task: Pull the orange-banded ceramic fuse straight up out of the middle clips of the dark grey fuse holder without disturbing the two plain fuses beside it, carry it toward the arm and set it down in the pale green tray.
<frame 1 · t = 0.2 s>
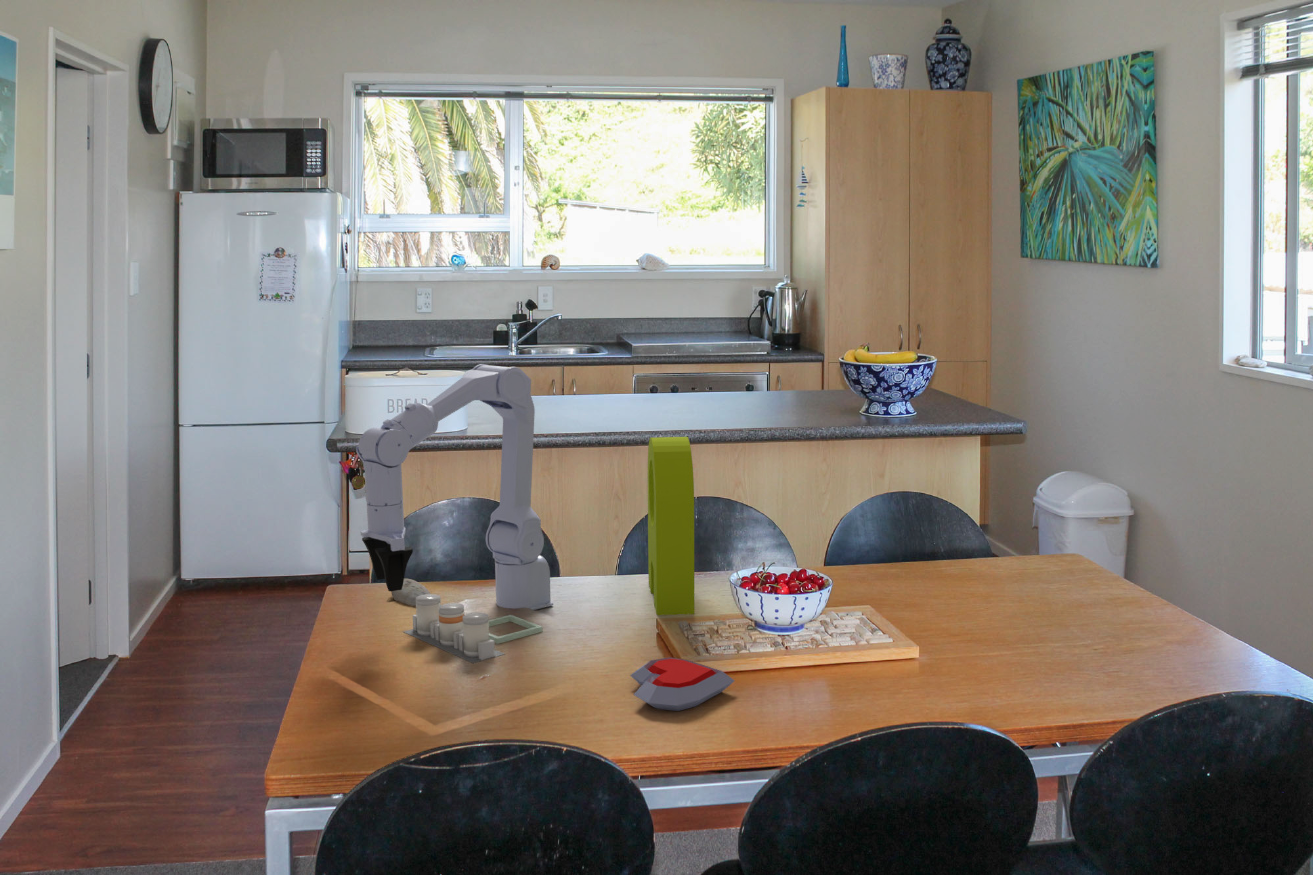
hand: (388, 584, 191), 10 cm above the table, tool pointing down, fingers open, 7 cm apart
fuse 2: (476, 652, 184), point 1 cm above the table, touching fuse holder
sculpture: (683, 696, 169), on the table
fuse 1: (429, 632, 195), point 1 cm above the table, touching fuse holder
fuse holder: (452, 648, 190), on the table
decorative stone: (412, 604, 215), on the table
tray: (504, 636, 195), on the table
decorative object: (670, 599, 216), on the table
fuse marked: (452, 642, 190), point 1 cm above the table, touching fuse holder
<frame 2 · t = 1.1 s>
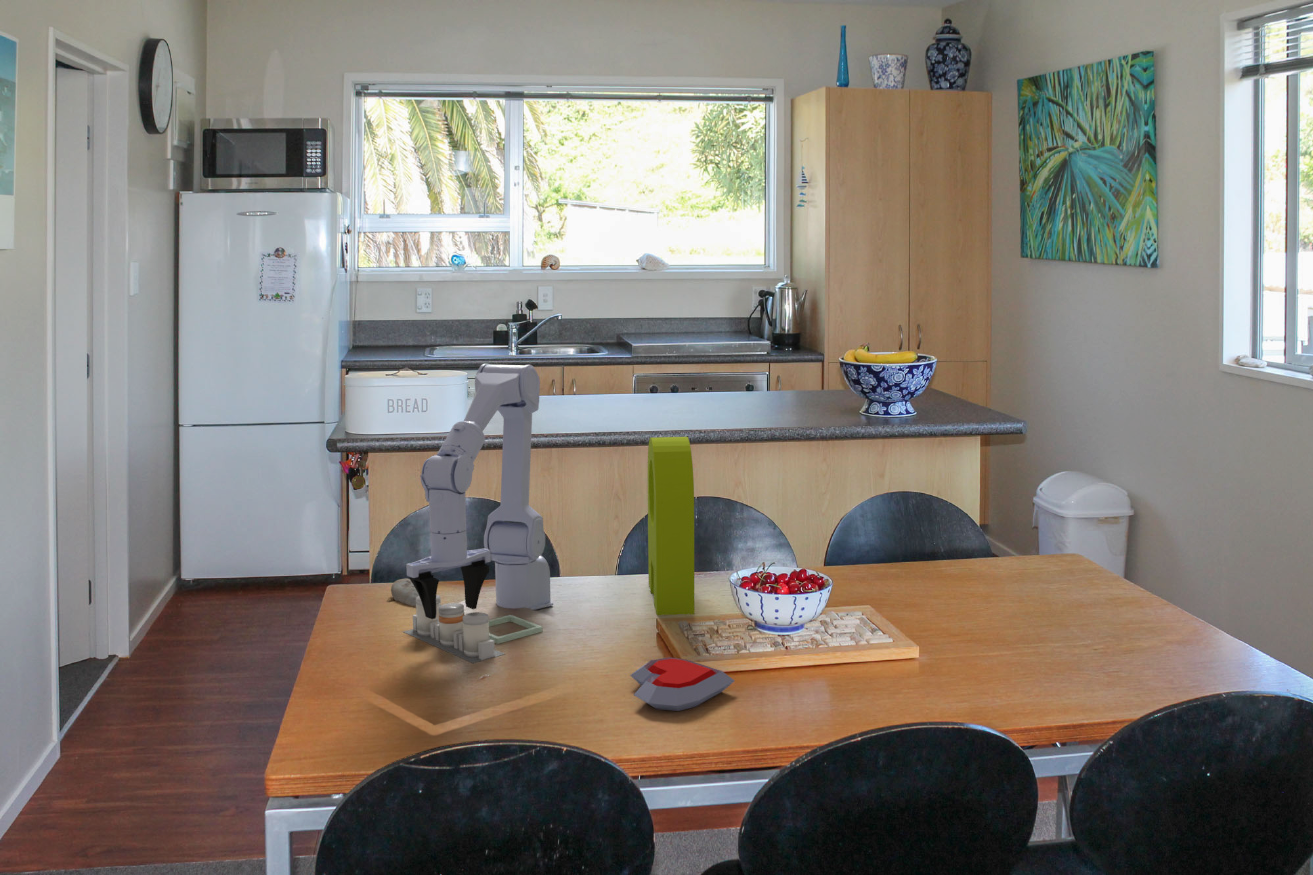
hand: (451, 612, 189), 6 cm above the table, tool pointing down, fingers open, 7 cm apart
nothing on the table moved.
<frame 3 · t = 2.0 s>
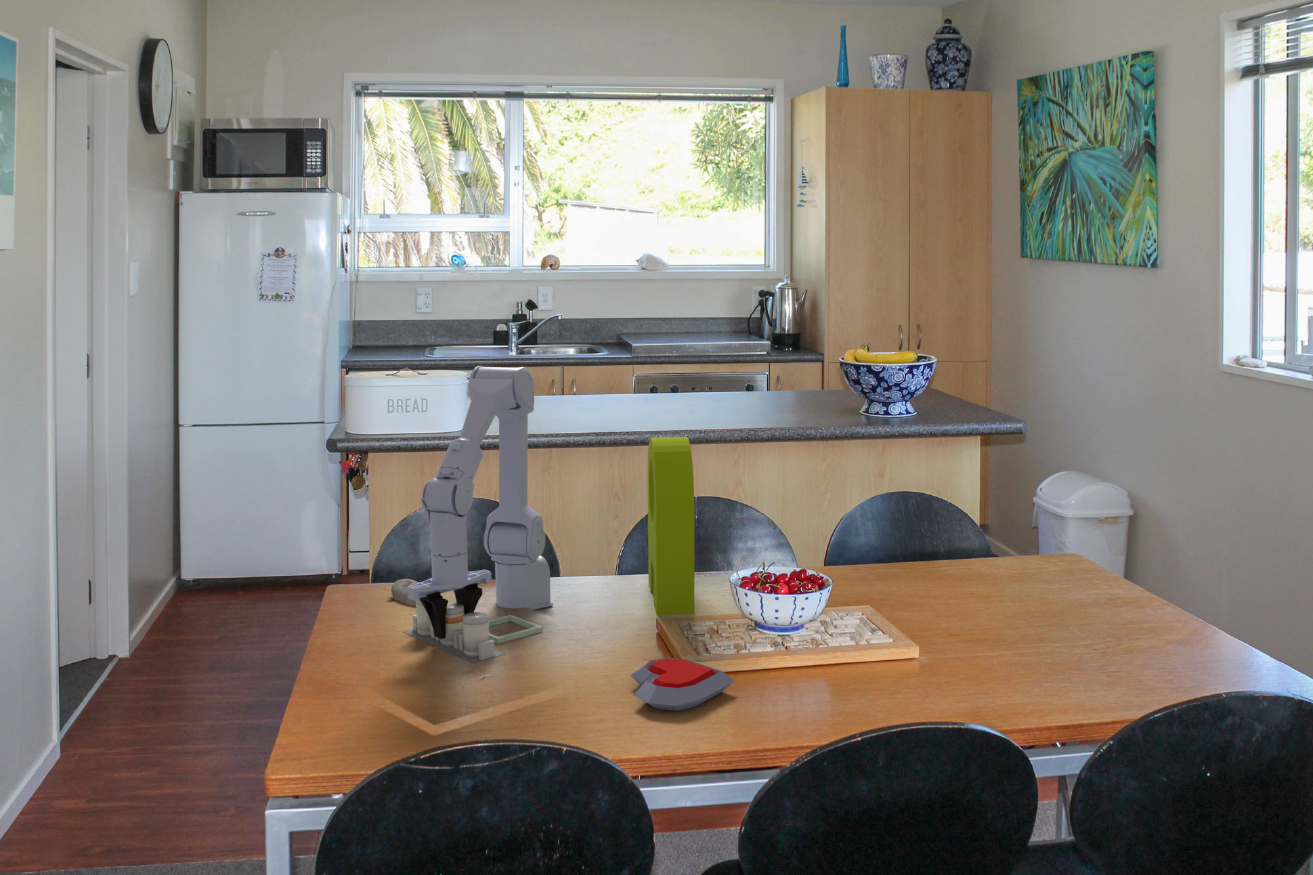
hand: (452, 634, 189), 2 cm above the table, tool pointing down, fingers closed on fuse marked, 4 cm apart
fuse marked: (452, 642, 190), point 1 cm above the table, touching fuse holder, gripper
everything else where it was.
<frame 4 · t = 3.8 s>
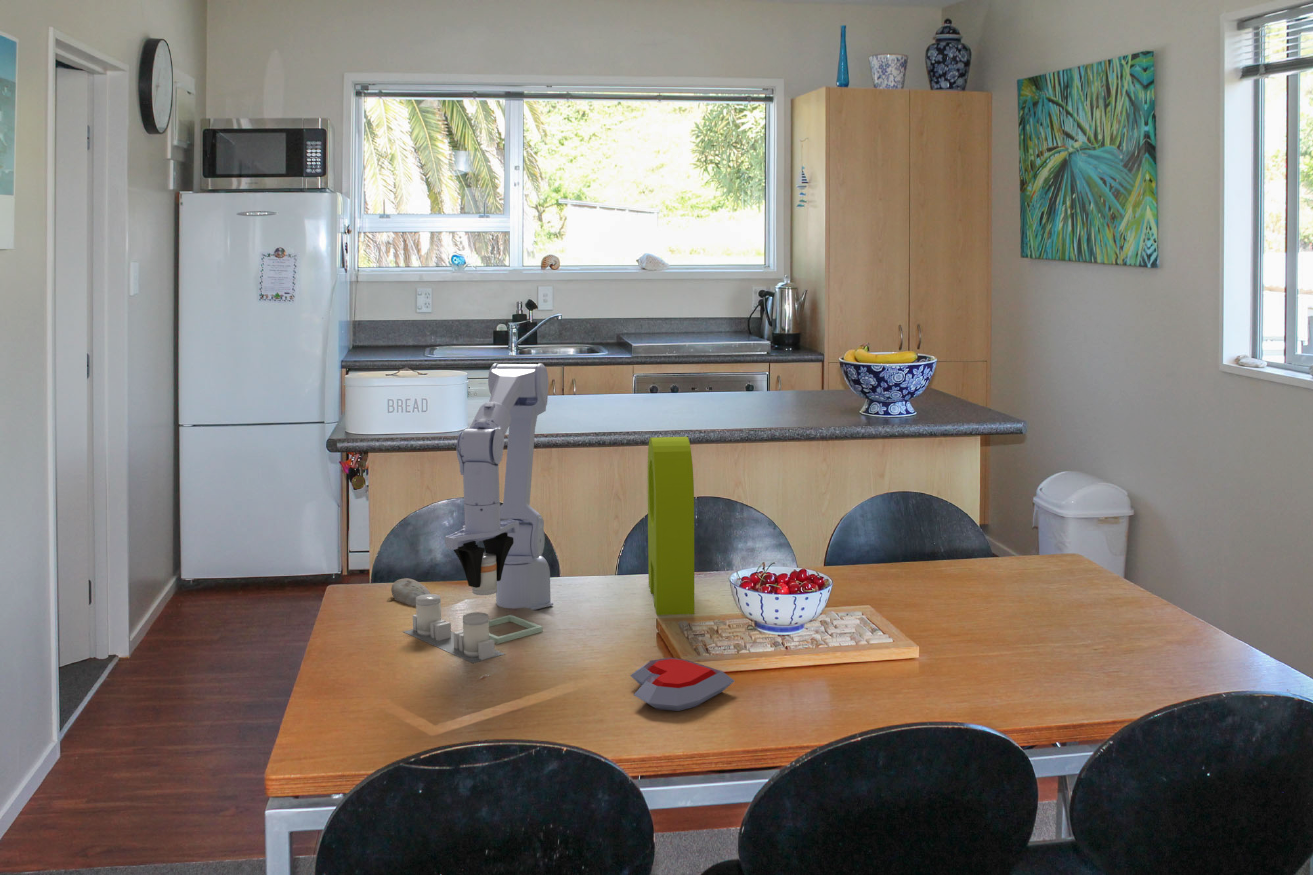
hand: (484, 583, 192), 10 cm above the table, tool pointing down, fingers closed on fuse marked, 4 cm apart
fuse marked: (484, 591, 192), point 8 cm above the table, touching gripper
everything else where it was.
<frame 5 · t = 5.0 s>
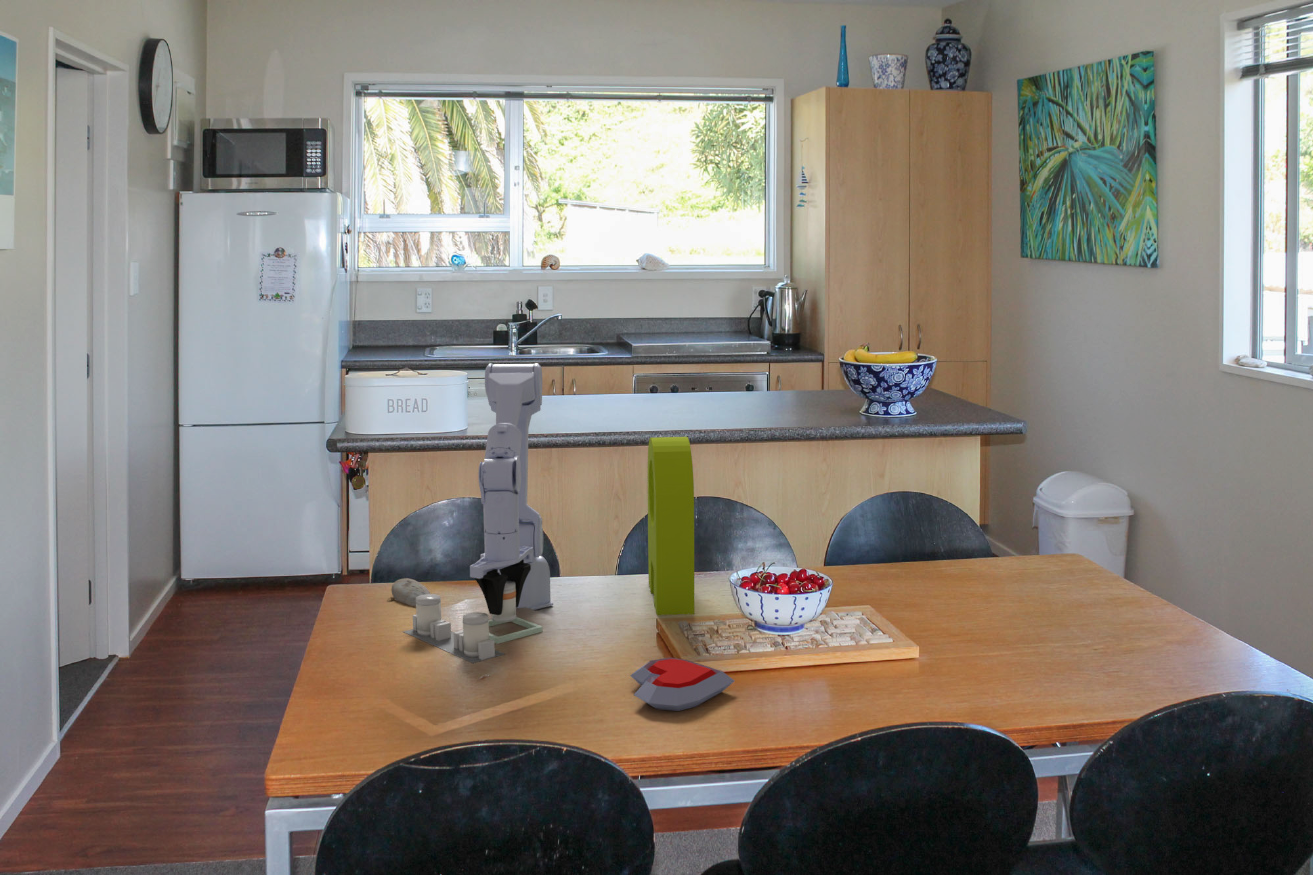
hand: (503, 610, 194), 5 cm above the table, tool pointing down, fingers closed on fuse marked, 4 cm apart
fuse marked: (504, 618, 195), point 3 cm above the table, touching gripper
everything else where it was.
when the fingers open (3 cm above the table, at t = 5.7 s): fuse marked drops 2 cm, resting on tray.
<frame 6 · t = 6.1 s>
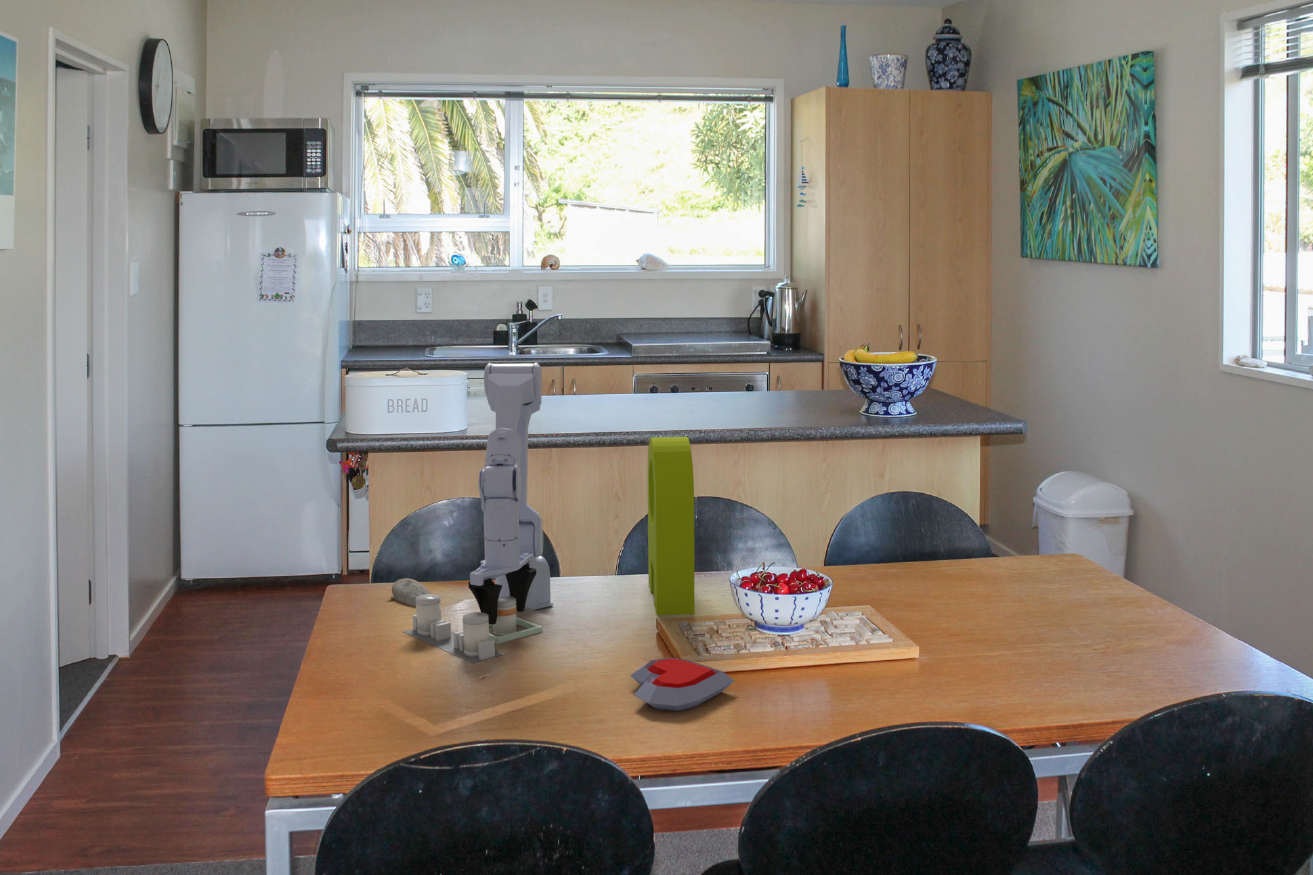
hand: (504, 616, 195), 3 cm above the table, tool pointing down, fingers open, 7 cm apart
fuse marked: (504, 634, 195), resting on tray
everything else where it was.
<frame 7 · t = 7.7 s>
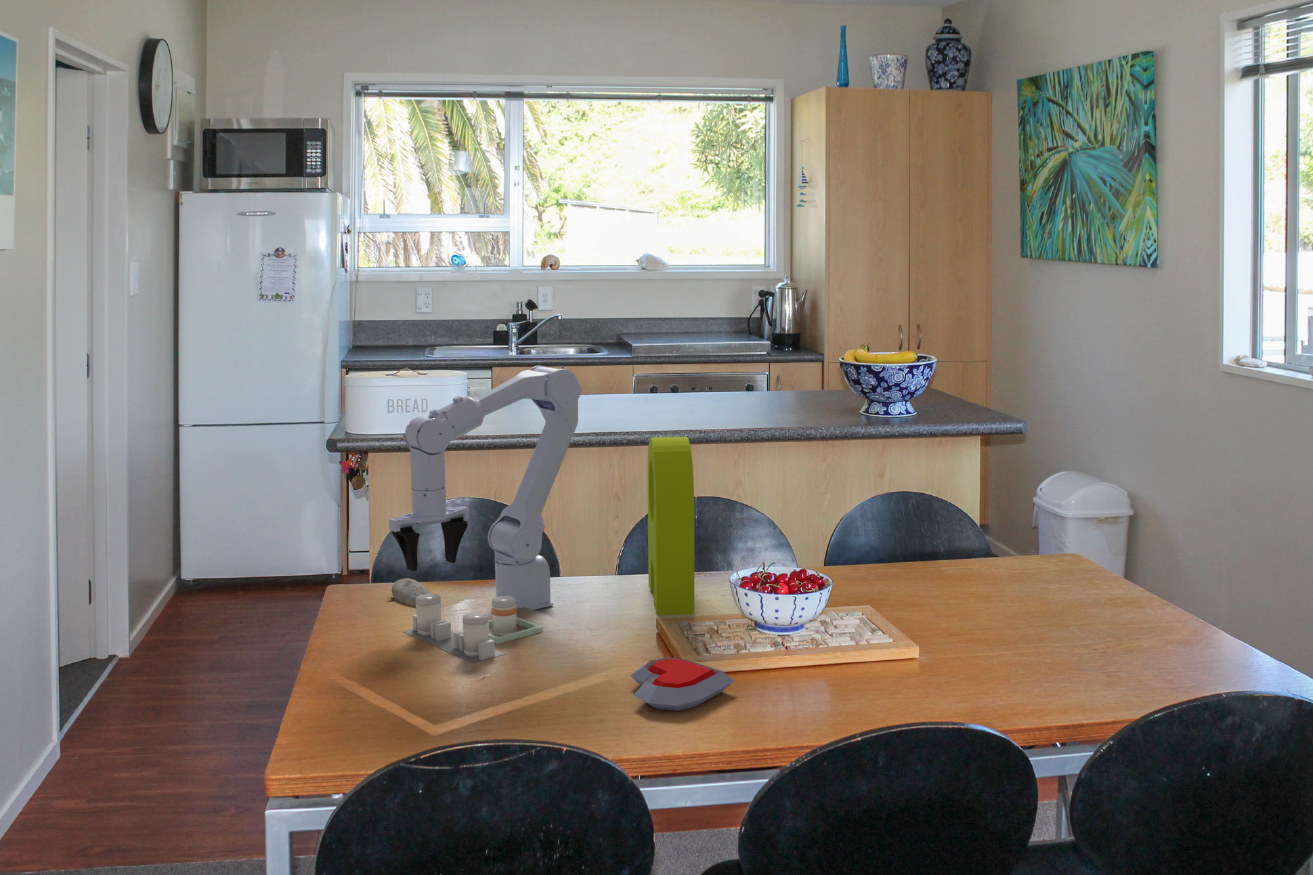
hand: (431, 565, 201), 10 cm above the table, tool pointing down, fingers open, 7 cm apart
nothing on the table moved.
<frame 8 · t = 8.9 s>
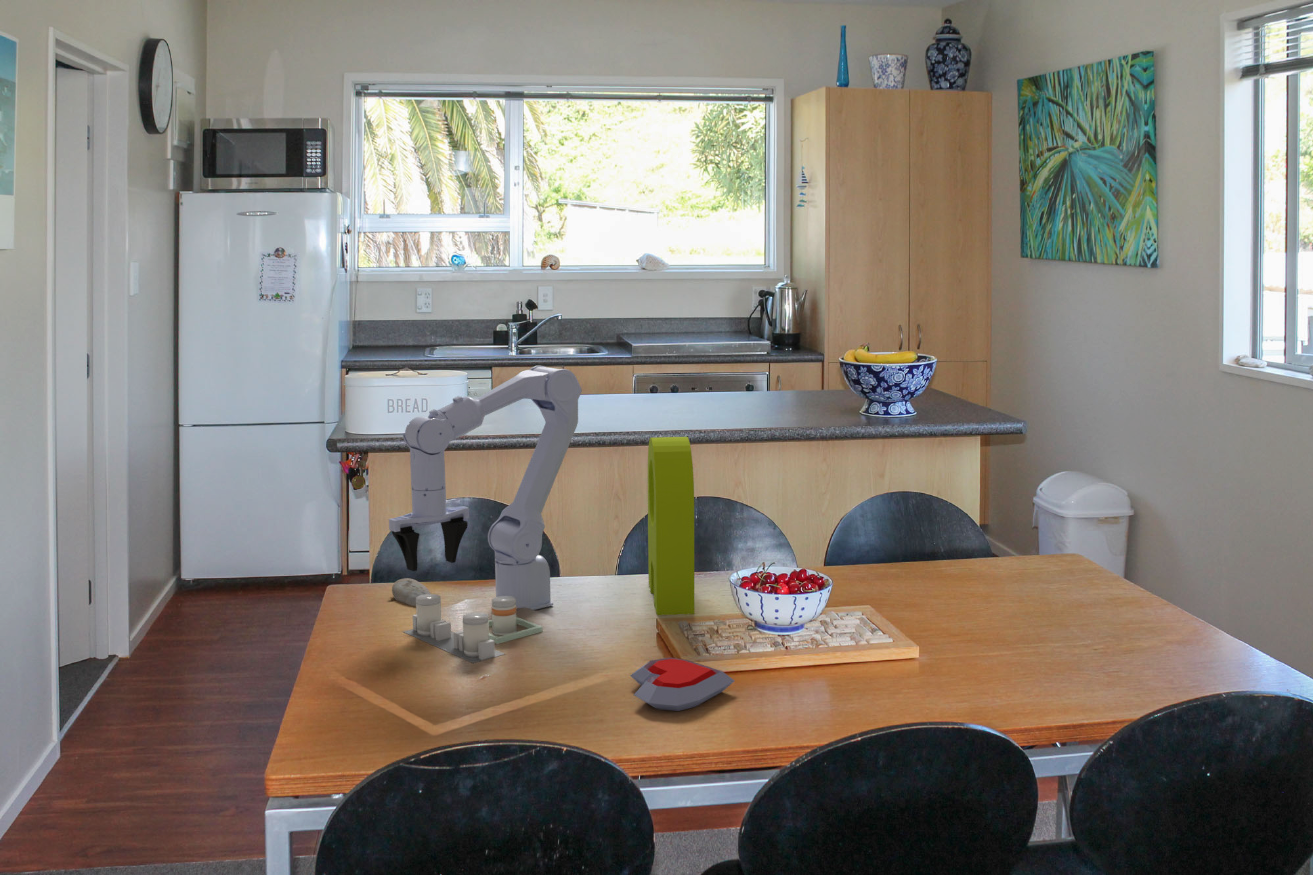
hand: (431, 565, 201), 10 cm above the table, tool pointing down, fingers open, 7 cm apart
nothing on the table moved.
at the end: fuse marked 0.0 cm off-centre on the tray, point 0.4 cm above the tray's base; fuse 1 moved 0.0 cm from its start; fuse 2 moved 0.0 cm from its start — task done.
